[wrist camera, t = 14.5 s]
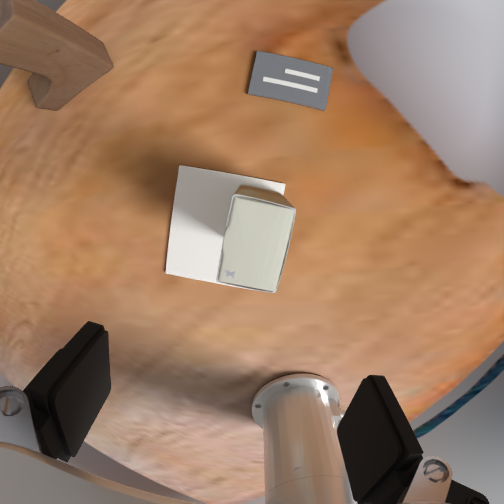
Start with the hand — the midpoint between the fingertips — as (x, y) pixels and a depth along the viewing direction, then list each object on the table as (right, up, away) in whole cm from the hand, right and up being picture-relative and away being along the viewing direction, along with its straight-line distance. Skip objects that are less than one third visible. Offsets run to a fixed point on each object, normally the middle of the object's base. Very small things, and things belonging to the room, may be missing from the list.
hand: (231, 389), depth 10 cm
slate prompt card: (+5, +22, +18) cm, 29 cm away
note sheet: (-2, +7, +23) cm, 24 cm away
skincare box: (+1, +9, +22) cm, 24 cm away
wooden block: (-19, +25, +17) cm, 36 cm away
